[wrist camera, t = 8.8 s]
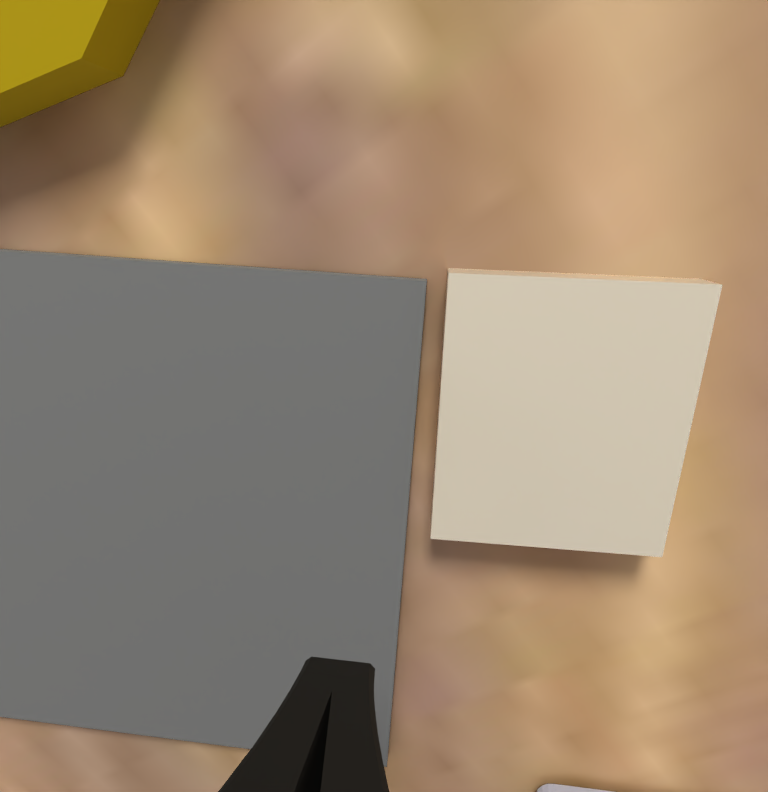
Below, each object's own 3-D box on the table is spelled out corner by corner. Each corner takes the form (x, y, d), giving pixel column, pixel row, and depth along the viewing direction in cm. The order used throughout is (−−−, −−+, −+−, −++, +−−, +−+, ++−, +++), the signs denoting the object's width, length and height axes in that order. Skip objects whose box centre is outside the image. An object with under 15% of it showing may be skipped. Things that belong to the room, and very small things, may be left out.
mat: (387, 755, 19) (386, 766, 19) (-56, 698, 20) (-65, 708, 20) (426, 279, 14) (426, 281, 14) (-172, 236, 15) (-188, 237, 15)
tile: (431, 508, 17) (641, 524, 16) (430, 539, 15) (662, 557, 15) (447, 266, 14) (691, 276, 14) (448, 272, 13) (722, 284, 12)
